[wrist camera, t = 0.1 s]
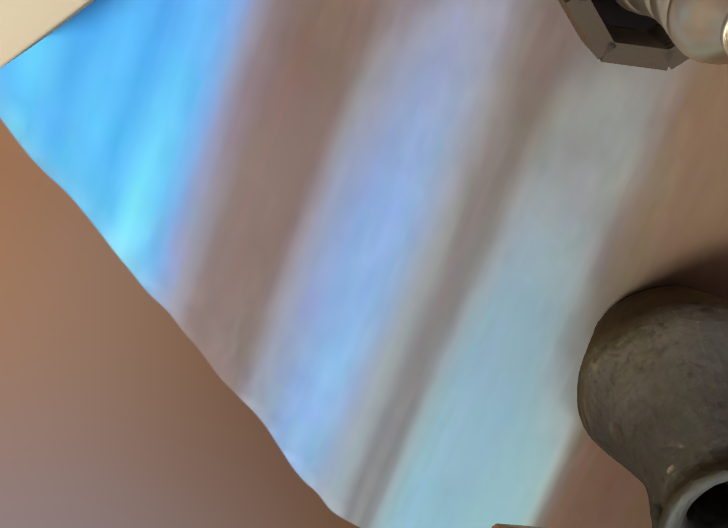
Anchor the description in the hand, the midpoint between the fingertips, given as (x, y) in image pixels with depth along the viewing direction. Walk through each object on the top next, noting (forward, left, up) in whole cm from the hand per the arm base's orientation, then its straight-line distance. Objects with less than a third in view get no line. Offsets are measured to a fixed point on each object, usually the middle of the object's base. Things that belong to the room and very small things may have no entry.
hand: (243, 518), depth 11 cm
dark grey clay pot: (+32, +36, -48) cm, 68 cm away
